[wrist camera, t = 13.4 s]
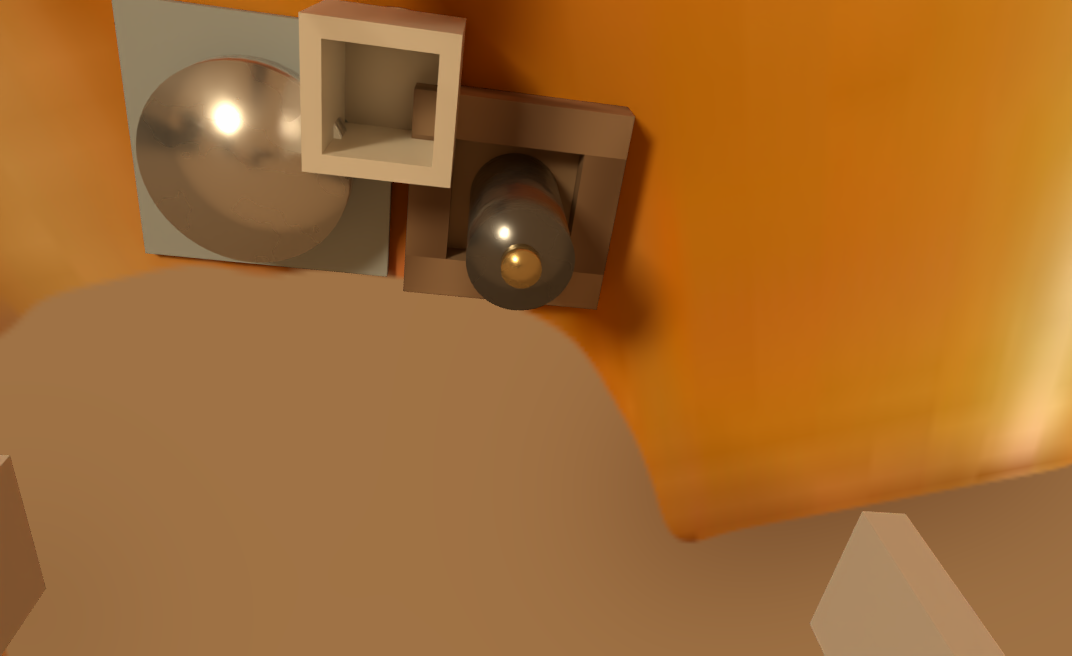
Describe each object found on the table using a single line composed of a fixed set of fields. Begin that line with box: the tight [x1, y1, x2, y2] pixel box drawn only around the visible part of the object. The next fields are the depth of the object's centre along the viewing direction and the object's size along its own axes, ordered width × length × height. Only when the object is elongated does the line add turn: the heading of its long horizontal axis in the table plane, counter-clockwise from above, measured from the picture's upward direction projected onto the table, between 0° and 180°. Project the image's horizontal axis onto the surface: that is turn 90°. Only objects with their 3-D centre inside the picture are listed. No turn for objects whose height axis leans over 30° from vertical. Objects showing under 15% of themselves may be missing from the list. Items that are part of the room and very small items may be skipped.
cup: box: [299, 0, 466, 188], centre depth 31 cm, size 6×6×6 cm
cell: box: [466, 153, 575, 310], centre depth 32 cm, size 4×4×9 cm
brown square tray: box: [403, 83, 635, 310], centre depth 36 cm, size 10×10×2 cm
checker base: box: [112, 0, 392, 277], centre depth 34 cm, size 12×12×1 cm
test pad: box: [136, 54, 354, 263], centre depth 32 cm, size 9×9×2 cm
